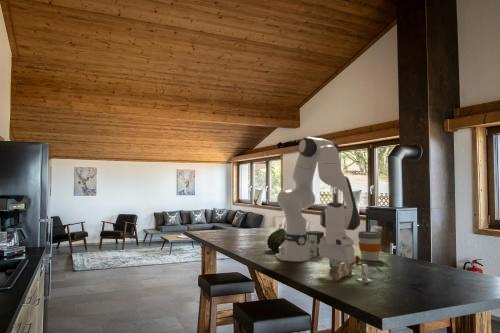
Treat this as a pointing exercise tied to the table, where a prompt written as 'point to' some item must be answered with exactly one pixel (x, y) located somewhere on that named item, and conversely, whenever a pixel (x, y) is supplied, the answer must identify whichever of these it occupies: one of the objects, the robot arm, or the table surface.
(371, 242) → the reusable coffee cup
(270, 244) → the squash
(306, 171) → the robot arm
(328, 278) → the table surface
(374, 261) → the glasses
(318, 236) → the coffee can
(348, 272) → the gate
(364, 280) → the gate frame
